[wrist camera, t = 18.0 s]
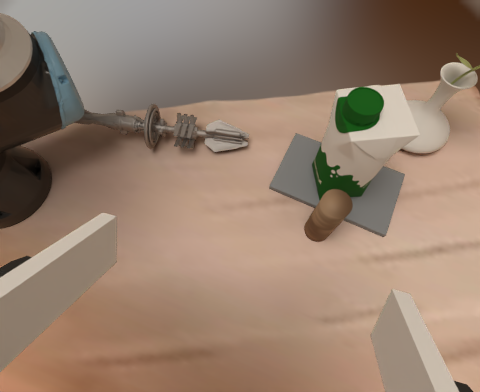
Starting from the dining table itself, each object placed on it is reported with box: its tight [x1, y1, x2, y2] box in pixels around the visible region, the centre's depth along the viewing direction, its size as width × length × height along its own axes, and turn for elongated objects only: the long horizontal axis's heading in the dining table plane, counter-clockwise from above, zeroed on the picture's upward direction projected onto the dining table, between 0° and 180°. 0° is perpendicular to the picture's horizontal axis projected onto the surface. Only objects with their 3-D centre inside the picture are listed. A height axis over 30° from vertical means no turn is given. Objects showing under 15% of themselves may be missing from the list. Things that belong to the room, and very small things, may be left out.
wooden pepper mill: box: [304, 189, 353, 242], centre depth 43 cm, size 4×4×11 cm
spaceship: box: [74, 104, 249, 152], centre depth 53 cm, size 8×35×8 cm
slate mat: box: [269, 133, 405, 237], centre depth 51 cm, size 20×12×1 cm, turn 64°
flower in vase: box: [402, 53, 480, 153], centre depth 44 cm, size 13×11×25 cm
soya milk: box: [312, 84, 420, 200], centre depth 42 cm, size 9×9×20 cm
